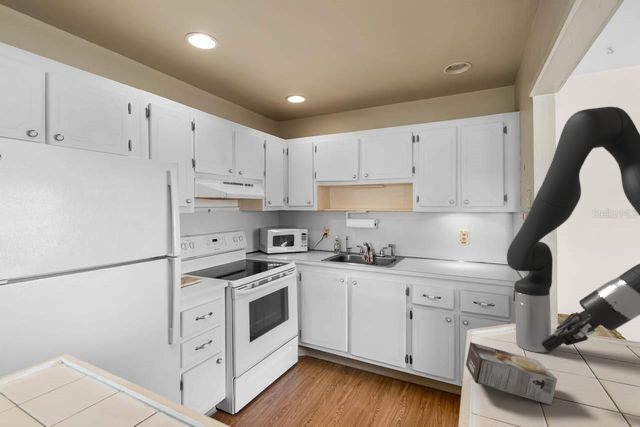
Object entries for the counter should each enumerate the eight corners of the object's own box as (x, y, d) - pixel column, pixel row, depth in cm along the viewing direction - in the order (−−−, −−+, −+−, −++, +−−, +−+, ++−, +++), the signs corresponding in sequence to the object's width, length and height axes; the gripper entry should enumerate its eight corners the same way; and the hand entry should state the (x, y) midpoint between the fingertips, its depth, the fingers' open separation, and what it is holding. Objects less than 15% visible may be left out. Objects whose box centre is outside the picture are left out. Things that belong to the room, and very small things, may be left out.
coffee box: (532, 384, 76) (464, 364, 79) (538, 359, 76) (469, 341, 79) (552, 406, 67) (474, 383, 70) (558, 378, 67) (480, 356, 70)
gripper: (593, 283, 72) (532, 325, 79) (601, 296, 61) (529, 343, 69) (626, 309, 68) (558, 350, 76) (640, 328, 58) (560, 373, 65)
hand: (544, 346), depth 72 cm, fingers closed
